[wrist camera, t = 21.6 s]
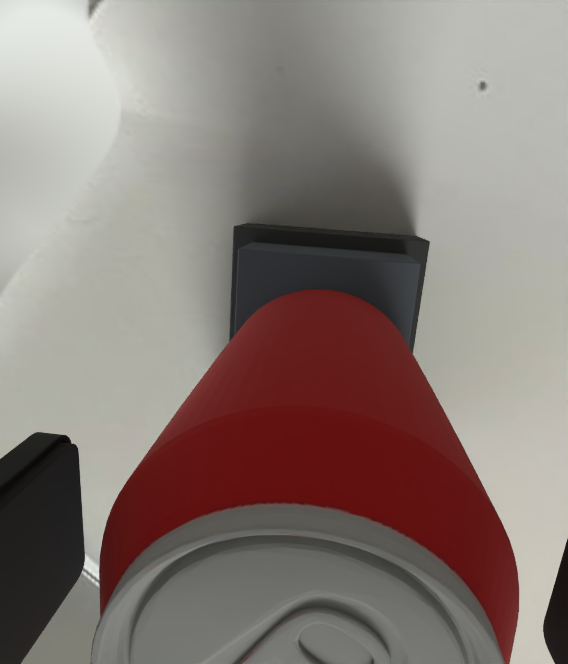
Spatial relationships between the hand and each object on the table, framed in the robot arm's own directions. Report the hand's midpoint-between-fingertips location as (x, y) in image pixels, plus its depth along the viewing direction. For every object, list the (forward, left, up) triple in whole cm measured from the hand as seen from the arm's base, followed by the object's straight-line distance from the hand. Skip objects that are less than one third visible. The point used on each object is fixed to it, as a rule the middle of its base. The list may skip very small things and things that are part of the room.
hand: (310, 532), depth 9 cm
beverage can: (0, 0, -9) cm, 9 cm away
